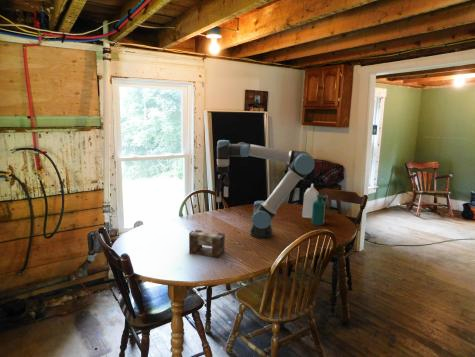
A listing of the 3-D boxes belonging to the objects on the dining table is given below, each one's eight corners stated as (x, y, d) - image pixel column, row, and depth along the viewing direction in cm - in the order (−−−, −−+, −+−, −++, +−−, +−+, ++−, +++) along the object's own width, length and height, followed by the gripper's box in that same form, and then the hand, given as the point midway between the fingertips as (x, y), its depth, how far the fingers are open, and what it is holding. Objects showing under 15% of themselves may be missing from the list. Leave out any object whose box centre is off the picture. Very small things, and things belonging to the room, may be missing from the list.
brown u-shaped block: (224, 251, 195) (224, 233, 193) (218, 258, 186) (218, 239, 184) (196, 247, 200) (196, 229, 198) (189, 253, 191) (189, 235, 189)
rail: (224, 245, 191) (224, 235, 190) (221, 248, 187) (222, 237, 186) (192, 240, 197) (192, 230, 195) (189, 243, 193) (189, 233, 192)
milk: (316, 218, 261) (319, 186, 256) (301, 217, 265) (304, 185, 260) (317, 214, 272) (320, 183, 267) (303, 213, 276) (305, 182, 271)
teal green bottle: (311, 224, 247) (313, 195, 243) (313, 221, 255) (315, 193, 251) (324, 226, 244) (326, 197, 239) (326, 223, 251) (328, 194, 247)
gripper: (224, 162, 217) (223, 194, 221) (209, 168, 193) (209, 203, 197) (234, 163, 215) (234, 195, 219) (221, 169, 191) (221, 204, 195)
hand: (222, 199), depth 208 cm, fingers open, 13 cm apart
